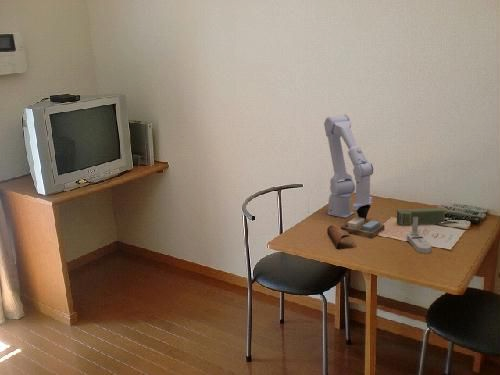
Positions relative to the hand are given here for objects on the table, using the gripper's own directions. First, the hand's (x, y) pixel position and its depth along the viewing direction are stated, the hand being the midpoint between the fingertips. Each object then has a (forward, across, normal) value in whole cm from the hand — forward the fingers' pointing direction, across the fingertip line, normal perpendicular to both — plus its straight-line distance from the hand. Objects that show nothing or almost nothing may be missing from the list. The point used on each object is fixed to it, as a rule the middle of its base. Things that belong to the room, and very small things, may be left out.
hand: (362, 221), depth 230 cm
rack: (+1, -6, -4) cm, 7 cm away
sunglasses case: (+2, -20, -1) cm, 20 cm away
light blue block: (+1, -5, -7) cm, 9 cm away
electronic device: (+2, -9, -28) cm, 30 cm away
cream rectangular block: (+1, -5, 0) cm, 5 cm away
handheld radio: (+2, +14, -22) cm, 27 cm away
